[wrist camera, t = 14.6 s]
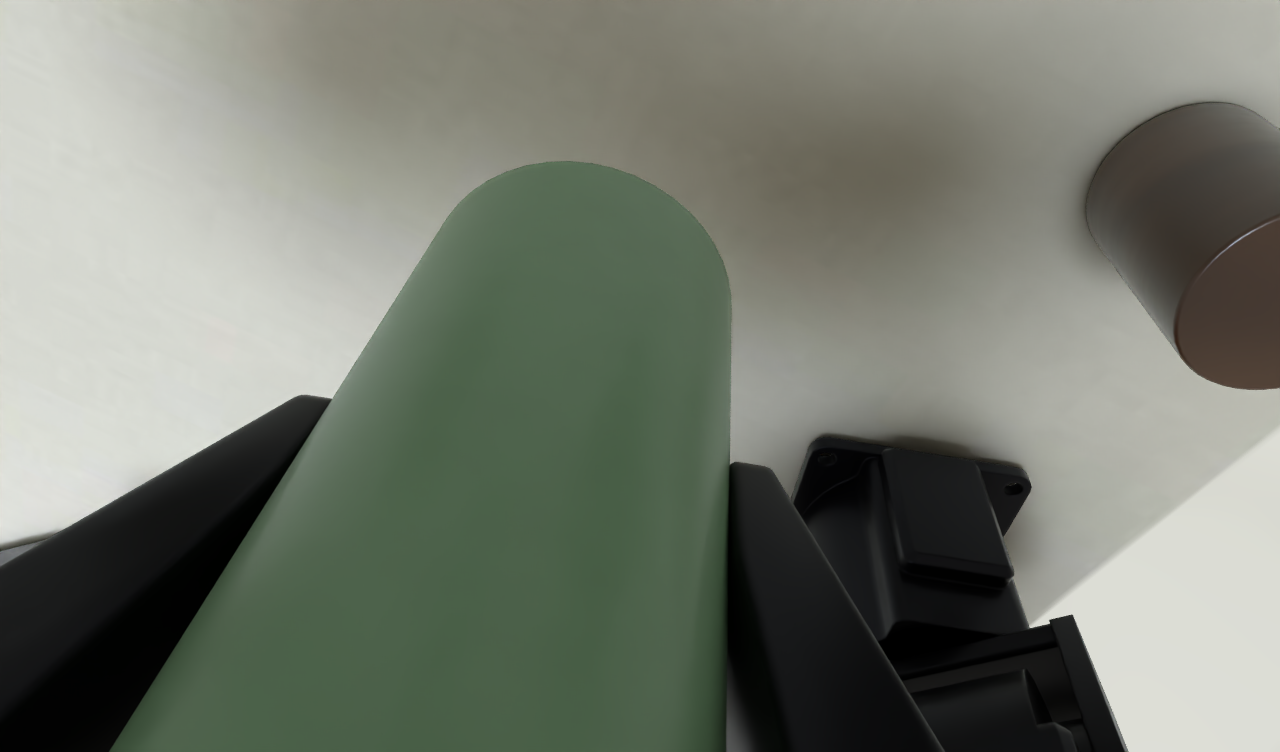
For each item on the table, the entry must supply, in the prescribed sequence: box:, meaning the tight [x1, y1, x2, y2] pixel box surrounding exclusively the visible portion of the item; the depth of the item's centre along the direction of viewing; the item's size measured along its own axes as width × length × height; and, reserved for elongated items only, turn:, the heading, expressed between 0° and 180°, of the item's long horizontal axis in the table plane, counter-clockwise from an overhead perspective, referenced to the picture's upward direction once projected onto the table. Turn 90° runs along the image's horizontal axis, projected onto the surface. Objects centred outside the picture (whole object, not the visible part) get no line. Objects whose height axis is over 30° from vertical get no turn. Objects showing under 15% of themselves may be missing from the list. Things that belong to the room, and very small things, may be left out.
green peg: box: [109, 161, 732, 752], centre depth 7 cm, size 4×4×10 cm
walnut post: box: [1086, 103, 1280, 390], centre depth 17 cm, size 4×4×5 cm
